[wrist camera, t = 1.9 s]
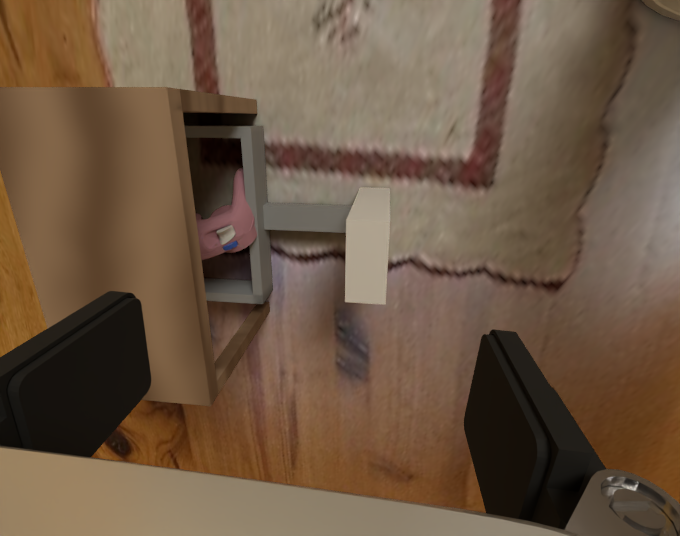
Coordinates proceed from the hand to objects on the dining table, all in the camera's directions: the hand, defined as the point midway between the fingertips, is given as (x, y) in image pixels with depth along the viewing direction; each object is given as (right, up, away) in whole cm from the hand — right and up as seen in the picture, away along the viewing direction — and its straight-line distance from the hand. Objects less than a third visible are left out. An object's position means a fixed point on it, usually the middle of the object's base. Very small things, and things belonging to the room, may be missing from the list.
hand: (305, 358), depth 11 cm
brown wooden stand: (-11, +7, +24) cm, 27 cm away
